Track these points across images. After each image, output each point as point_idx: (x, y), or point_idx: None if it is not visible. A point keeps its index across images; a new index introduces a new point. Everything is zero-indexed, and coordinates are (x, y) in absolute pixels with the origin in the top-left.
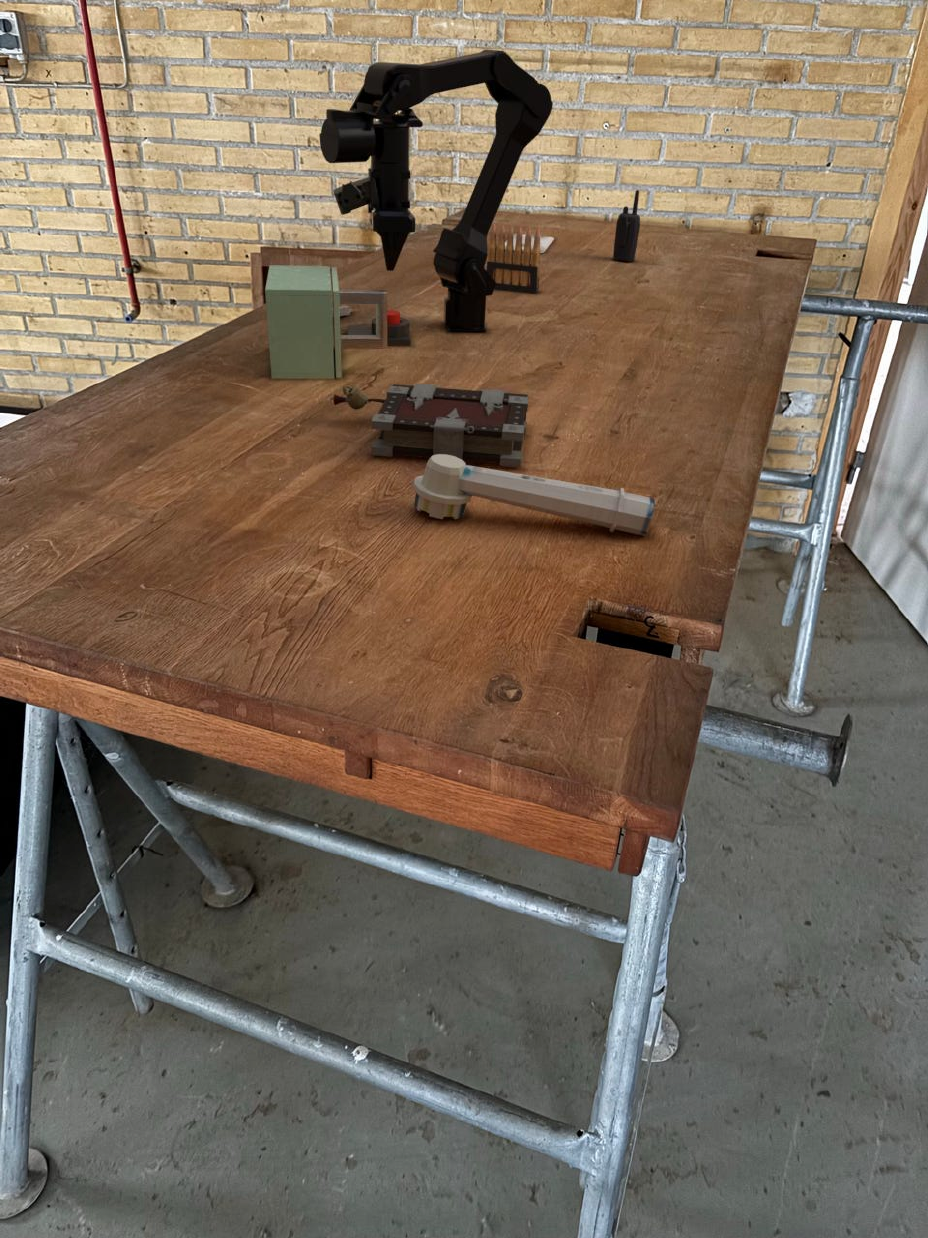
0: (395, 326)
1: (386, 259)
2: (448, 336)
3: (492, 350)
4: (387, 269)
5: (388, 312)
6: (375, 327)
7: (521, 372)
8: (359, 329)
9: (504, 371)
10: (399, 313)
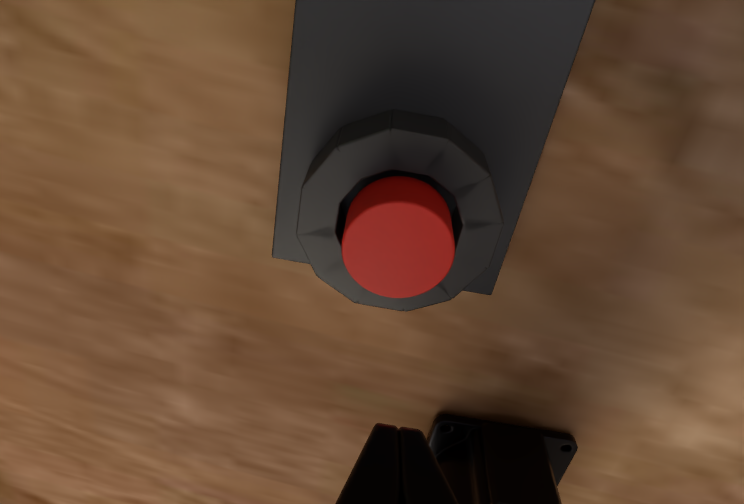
0: (297, 228)
1: (338, 502)
2: (397, 396)
3: (219, 460)
4: (373, 428)
5: (399, 243)
6: (355, 132)
7: (2, 461)
8: (483, 55)
9: (3, 429)
10: (370, 290)
